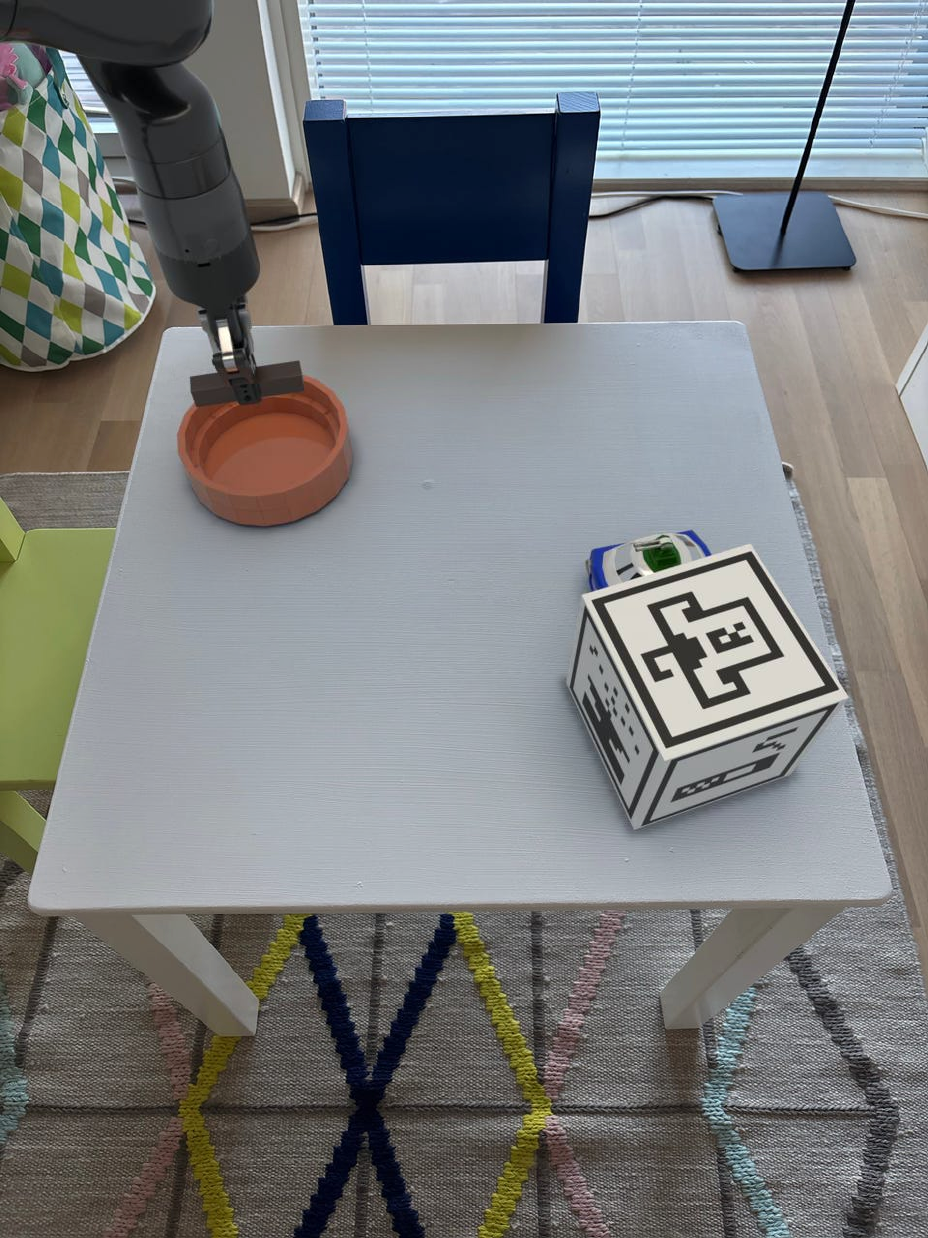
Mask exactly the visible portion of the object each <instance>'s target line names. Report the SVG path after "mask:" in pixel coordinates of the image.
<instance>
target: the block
mask: <svg viewBox="0 0 928 1238" xmlns="http://www.w3.org/2000/svg"><path fill="white" fill-rule="evenodd" d="M568 664H569V665H568V671H567V675H566V676H567V677H566V682H565V683H566V686H567V688H568V690H569V693H570V695H571V697H572V699H573V701H574V703H575V705H576V708H577V710H578V712H579V714H580V716H581V718H582V721H583V723H584V725H585V727H586V729H587V732H588V733H589V736H590V738H591V740H592V742H593V744H594V746H595V749H596V751H597V753H598V755H599V757H600V760H601V762H602V765H603V766H604V768H605V771H606V772H607V773H606V774H607V775H608V777H609V779H610V781H611V783H612V786H613V788H614V790H615V791H616V794H617V796H618V799H619V801H620V803H621V805H622V807H623V809H624V812H625V814H626V816H627V818H628V820H629V822H630V825H631V827H632V829H633V831H635V830H639V829H641V828H645V827H647V826H650V825H653V824H656V823H658V822H662V821H664V820H667V819H669V818H672V817H675V816H678V815H681V814H683V813H686V812H690V811H692V810H695V809H698V808H702V807H704V806H707V805H709V804H712V803H715V802H717V801H721V800H723V799H726V798H729V797H732V796H734V795H735V796H736V795H737V794H740V793H742V792H743V793H744V792H745V791H748V790H752V789H754V788H757V787H760V786H763V785H766V784H769V783H771V782H775V781H777V780H779V779H783V778H785V777H788V776H791V774H793V772H794V771H795V769H796V768H797V766H798V765H799V764H800V763H801V761H802V760H803V759H804V757H805V756H806V755H807V753H808V752H809V751H810V749H812V747H813V746H814V744H815V743H816V742H817V740H818V739H819V738H820V736H821V735H822V734H823V732H825V730H826V729H827V727H828V726H829V725H830V723H831V722H832V721H833V719H835V717H836V715H838V713H839V712H840V711H841V709H842V708H843V706H844V705H845V704H846V703H847V701H848V700H849V699H850V697H849V695H848V694H847V692H846V691H845V688H844V687H843V686H842V684H841V683H840V681H839V680H838V677H836V675H835V673H834V672H833V670H832V668H831V667H830V665H829V664H828V662H827V661H826V659H825V658H824V656H823V655H822V653H821V652H820V649H818V647H817V645H816V644H815V642H814V640H813V639H812V637H811V636H810V634H809V633H808V631H807V630H806V628H805V627H804V625H803V623H802V622H801V620H800V618H799V617H798V616H797V614H796V612H795V611H794V610H793V608H792V606H791V604H790V603H789V602H788V599H787V598H786V597H785V595H784V594H783V592H782V591H781V588H780V587H779V586H778V584H777V582H776V581H775V580H774V578H773V577H772V575H771V574H770V572H769V570H768V568H767V567H766V565H765V564H764V562H763V561H762V559H761V558H760V557H759V555H758V553H757V551H756V550H755V549H754V547H753V545H752V544H751V543H747V544H744V545H741V546H738V547H734V548H731V549H728V550H725V551H721V552H718V553H715V554H712V555H711V556H708V557H705V558H701V559H698V560H695V561H692V562H688V563H685V564H682V565H678V566H675V567H672V568H669V569H665V570H662V571H659V572H656V573H652V574H649V575H646V576H643V577H639V578H636V579H633V580H629V581H626V582H623V583H620V584H616V585H613V586H610V587H607V588H603V589H600V590H597V591H593V592H591V591H589V592H587V593H584V594H581V597H580V603H579V608H578V615H577V620H576V626H575V631H574V637H573V643H572V648H571V654H570V660H569V663H568Z"/></svg>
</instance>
